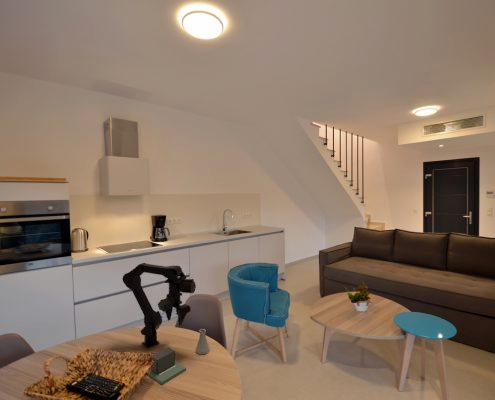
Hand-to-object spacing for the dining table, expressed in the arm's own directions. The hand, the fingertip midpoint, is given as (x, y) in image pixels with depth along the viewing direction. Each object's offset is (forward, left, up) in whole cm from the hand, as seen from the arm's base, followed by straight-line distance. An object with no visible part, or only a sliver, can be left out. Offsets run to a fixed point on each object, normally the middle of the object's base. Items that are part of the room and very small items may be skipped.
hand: (174, 322), depth 137 cm
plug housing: (+12, -15, -11) cm, 22 cm away
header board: (+12, -15, -12) cm, 22 cm away
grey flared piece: (+14, +6, -12) cm, 19 cm away
